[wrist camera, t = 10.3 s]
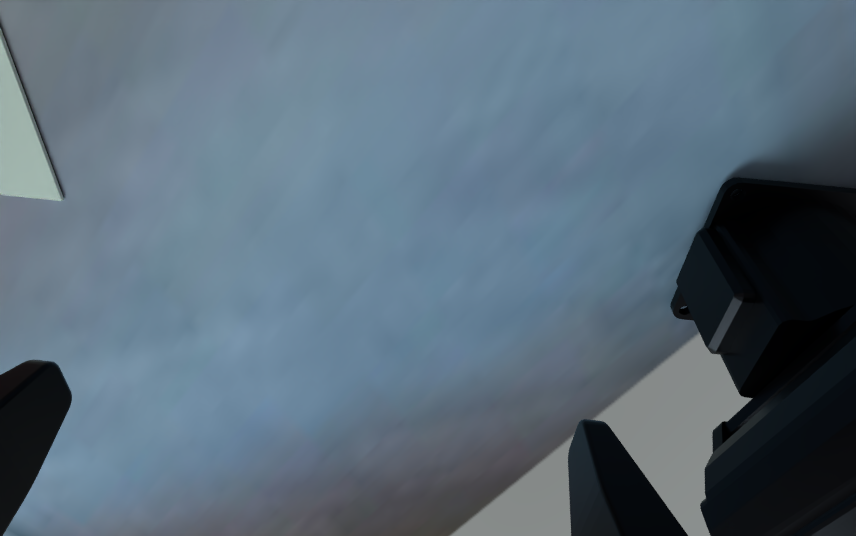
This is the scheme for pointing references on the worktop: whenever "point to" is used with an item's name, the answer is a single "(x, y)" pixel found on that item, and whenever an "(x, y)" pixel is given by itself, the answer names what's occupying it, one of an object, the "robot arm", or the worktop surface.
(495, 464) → the worktop surface
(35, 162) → the mat
